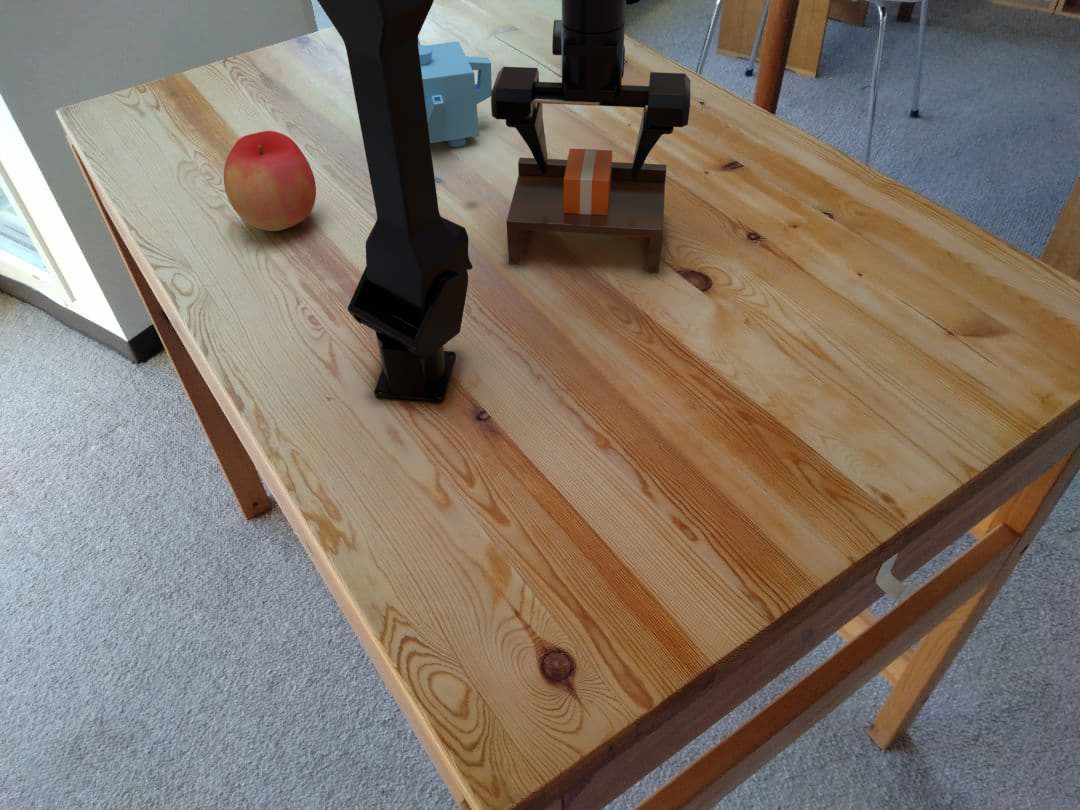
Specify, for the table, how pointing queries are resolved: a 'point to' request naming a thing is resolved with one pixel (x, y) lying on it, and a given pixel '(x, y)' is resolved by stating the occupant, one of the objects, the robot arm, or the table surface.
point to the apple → (269, 181)
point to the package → (587, 181)
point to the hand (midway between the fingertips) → (589, 174)
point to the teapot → (453, 91)
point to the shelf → (628, 214)
